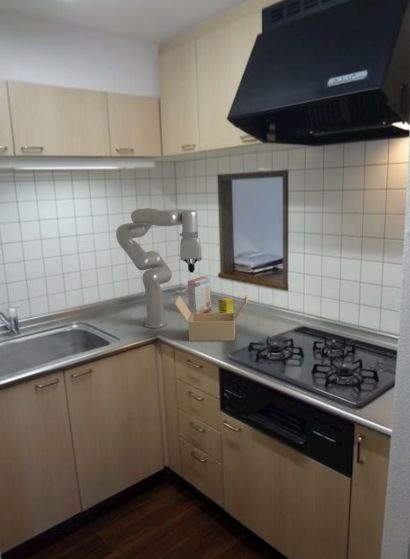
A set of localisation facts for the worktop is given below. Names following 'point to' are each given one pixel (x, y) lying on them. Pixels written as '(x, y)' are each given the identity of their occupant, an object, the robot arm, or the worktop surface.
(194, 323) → the carton
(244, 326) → the worktop surface
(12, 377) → the worktop surface
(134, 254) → the robot arm
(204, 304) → the cracker box
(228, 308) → the supplement box
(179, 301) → the flap
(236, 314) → the flap
